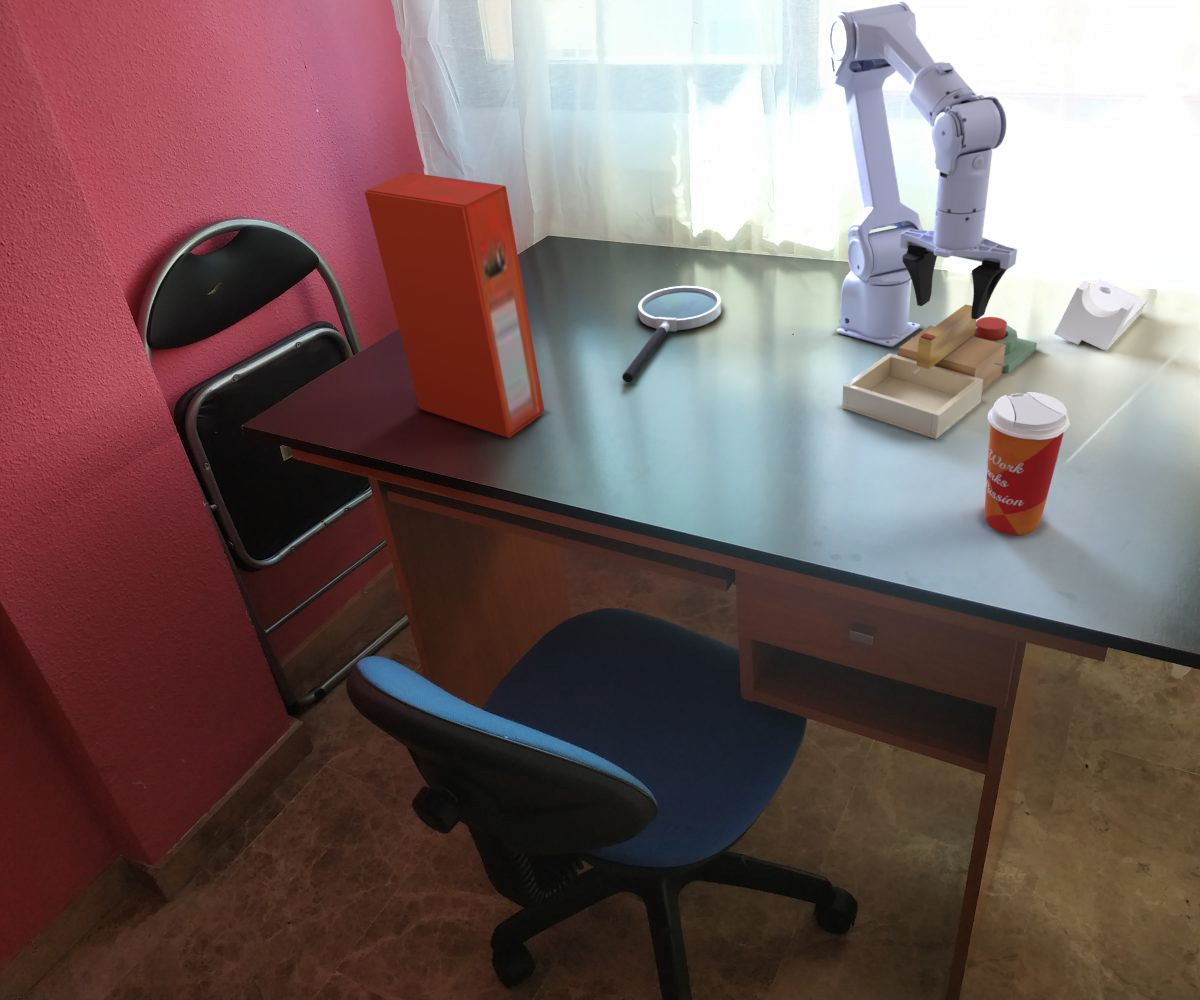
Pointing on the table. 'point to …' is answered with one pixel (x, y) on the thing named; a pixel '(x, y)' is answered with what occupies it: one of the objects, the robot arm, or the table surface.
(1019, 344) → the tap control
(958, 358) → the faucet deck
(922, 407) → the wooden tray
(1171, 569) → the table surface
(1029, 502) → the paper cup
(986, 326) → the tap button
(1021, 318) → the table surface
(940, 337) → the golden tan long bar
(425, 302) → the file binder
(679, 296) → the magnifying glass
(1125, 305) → the bracket
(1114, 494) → the table surface
